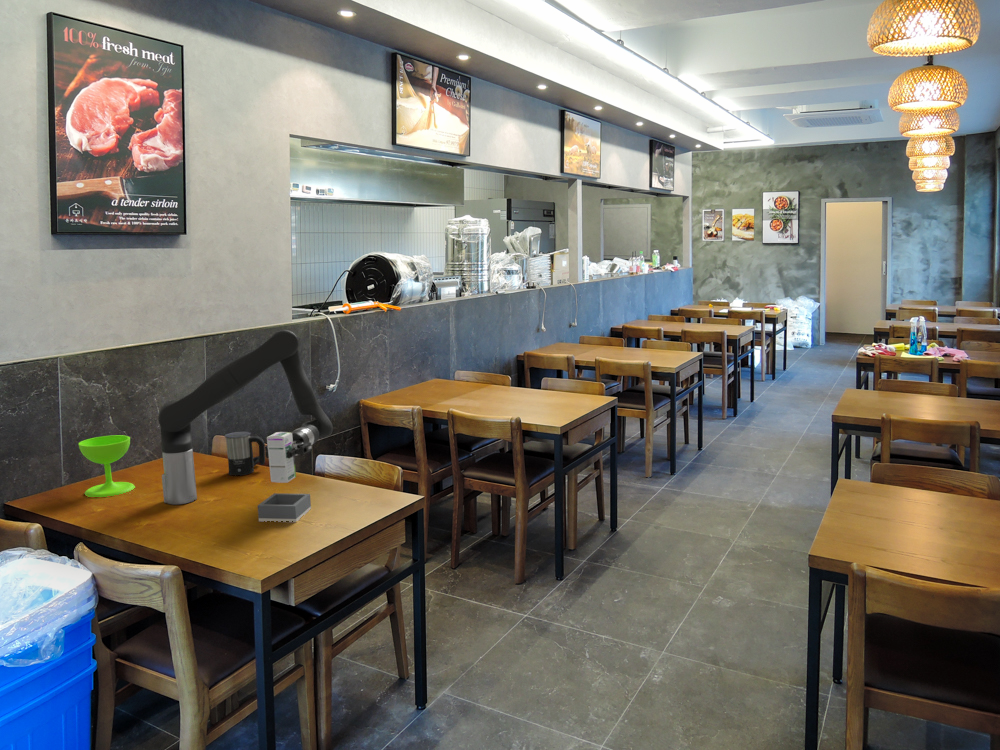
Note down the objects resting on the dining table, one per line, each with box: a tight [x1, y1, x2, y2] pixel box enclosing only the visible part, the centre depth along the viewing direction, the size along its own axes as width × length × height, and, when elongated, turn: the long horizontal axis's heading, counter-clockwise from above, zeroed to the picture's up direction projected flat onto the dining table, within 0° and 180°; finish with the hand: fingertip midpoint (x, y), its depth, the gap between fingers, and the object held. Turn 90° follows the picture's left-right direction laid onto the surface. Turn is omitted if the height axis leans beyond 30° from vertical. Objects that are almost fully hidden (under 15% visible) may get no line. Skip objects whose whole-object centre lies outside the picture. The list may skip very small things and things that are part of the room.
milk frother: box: [224, 431, 266, 477], centre depth 287 cm, size 14×16×15 cm
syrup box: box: [266, 431, 297, 484], centre depth 233 cm, size 6×6×14 cm
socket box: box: [257, 492, 312, 523], centre depth 235 cm, size 12×12×5 cm
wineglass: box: [78, 434, 136, 498], centre depth 264 cm, size 16×16×18 cm
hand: (278, 455), depth 230 cm, fingers closed on syrup box, 6 cm apart
